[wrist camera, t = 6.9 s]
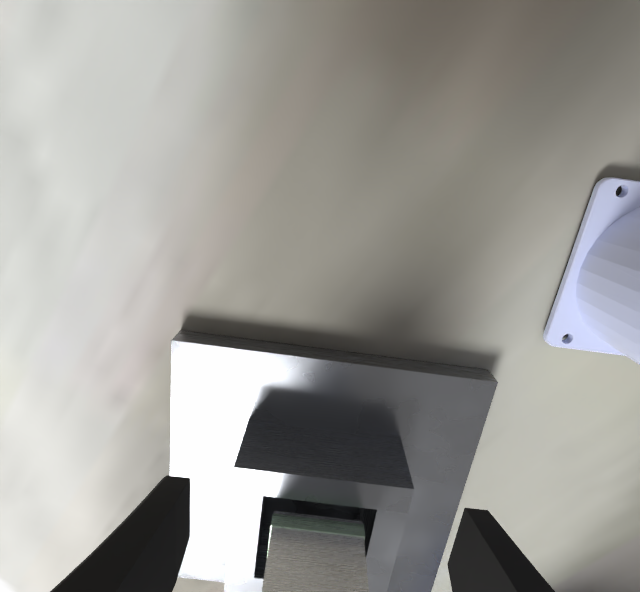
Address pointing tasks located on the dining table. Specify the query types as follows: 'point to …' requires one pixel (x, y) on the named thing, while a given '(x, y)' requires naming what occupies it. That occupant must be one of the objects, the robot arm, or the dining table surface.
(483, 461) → the dining table surface
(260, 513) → the stand base
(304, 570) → the steel column
